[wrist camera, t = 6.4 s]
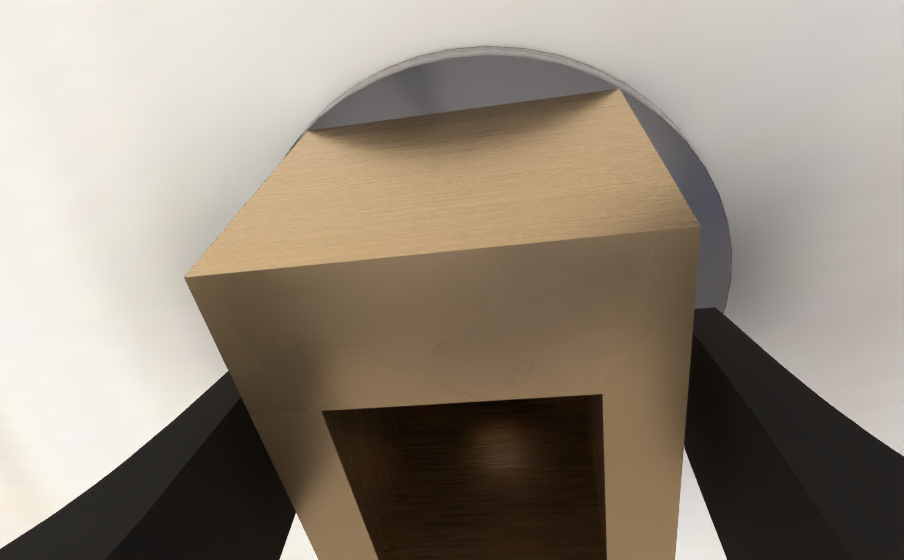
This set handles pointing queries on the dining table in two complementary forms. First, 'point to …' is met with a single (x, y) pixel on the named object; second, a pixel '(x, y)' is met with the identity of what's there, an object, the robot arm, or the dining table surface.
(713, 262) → the hub
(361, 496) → the wooden cubby box
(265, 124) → the dining table surface
